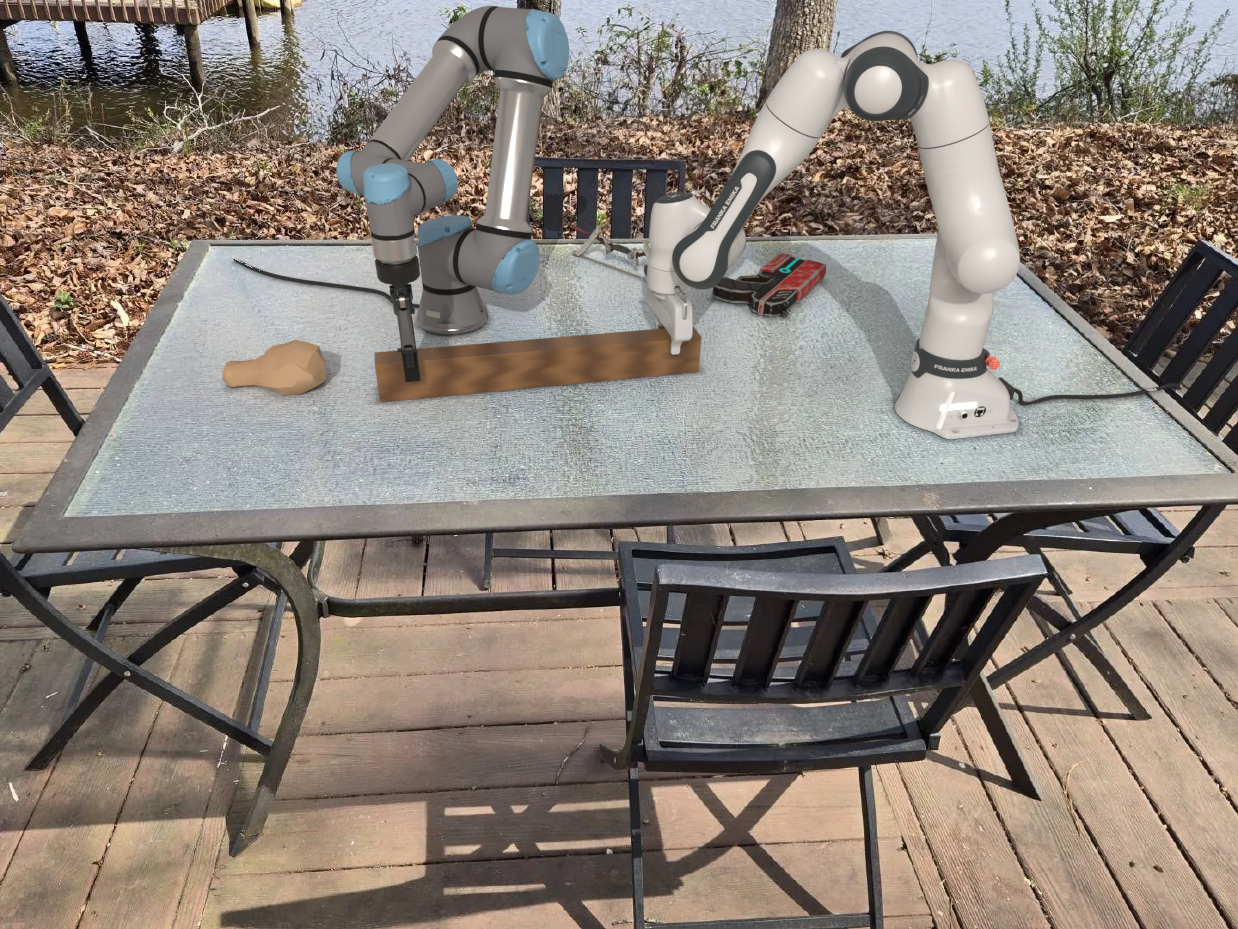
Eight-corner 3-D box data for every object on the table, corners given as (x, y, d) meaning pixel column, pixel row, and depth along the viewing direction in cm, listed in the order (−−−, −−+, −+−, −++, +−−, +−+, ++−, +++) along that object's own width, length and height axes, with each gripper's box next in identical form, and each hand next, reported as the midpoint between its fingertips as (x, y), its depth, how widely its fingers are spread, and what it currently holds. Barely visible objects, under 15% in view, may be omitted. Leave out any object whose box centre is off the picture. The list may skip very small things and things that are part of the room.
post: (380, 402, 166) (374, 365, 162) (379, 388, 171) (374, 352, 166) (698, 372, 180) (701, 336, 175) (690, 360, 184) (693, 325, 180)
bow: (681, 290, 215) (684, 251, 209) (676, 292, 214) (679, 253, 208) (570, 250, 236) (570, 213, 230) (565, 252, 235) (565, 215, 229)
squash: (325, 401, 166) (308, 363, 160) (224, 409, 168) (204, 372, 162) (338, 366, 174) (323, 329, 168) (242, 374, 176) (223, 338, 169)
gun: (708, 284, 207) (784, 305, 199) (760, 245, 229) (831, 262, 221) (706, 302, 209) (781, 323, 201) (758, 261, 231) (828, 278, 223)
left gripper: (422, 282, 145) (436, 393, 158) (413, 230, 165) (426, 332, 177) (376, 286, 144) (393, 398, 156) (372, 233, 164) (388, 336, 176)
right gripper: (703, 296, 162) (698, 364, 170) (670, 258, 179) (668, 321, 186) (670, 299, 161) (667, 367, 168) (641, 260, 177) (639, 323, 185)
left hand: (411, 363), depth 167 cm, fingers open, 13 cm apart
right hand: (667, 342), depth 177 cm, fingers open, 8 cm apart
